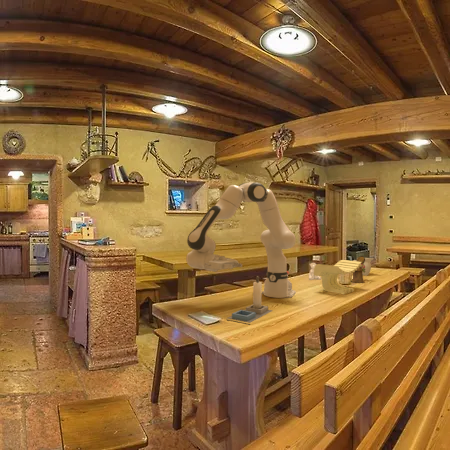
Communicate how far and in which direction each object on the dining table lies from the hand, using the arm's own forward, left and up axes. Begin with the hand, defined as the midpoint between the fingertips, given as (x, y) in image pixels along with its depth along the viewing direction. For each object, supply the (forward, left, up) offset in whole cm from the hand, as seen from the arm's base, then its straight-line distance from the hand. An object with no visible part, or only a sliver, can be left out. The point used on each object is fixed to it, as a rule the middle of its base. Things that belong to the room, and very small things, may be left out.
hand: (237, 266), depth 185 cm
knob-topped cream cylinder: (0, +12, -21) cm, 24 cm away
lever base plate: (+6, +12, -22) cm, 26 cm away
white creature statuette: (-106, +4, -22) cm, 108 cm away
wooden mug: (-116, +34, -22) cm, 122 cm away
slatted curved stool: (-76, +30, -22) cm, 84 cm away
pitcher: (-148, +30, -22) cm, 152 cm away
